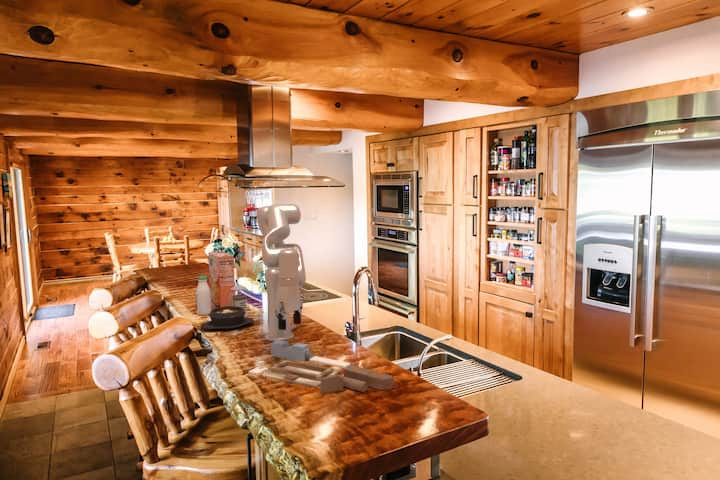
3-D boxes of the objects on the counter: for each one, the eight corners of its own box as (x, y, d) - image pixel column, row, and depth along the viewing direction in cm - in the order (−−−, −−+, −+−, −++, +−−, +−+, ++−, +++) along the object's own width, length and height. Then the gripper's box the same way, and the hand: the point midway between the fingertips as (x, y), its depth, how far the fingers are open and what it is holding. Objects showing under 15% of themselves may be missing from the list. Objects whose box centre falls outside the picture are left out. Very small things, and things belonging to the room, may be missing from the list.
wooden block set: (349, 361, 167) (394, 372, 157) (349, 377, 168) (394, 389, 158) (317, 376, 153) (365, 389, 143) (318, 393, 154) (365, 407, 144)
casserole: (206, 335, 217) (205, 317, 216) (196, 326, 233) (195, 309, 232) (259, 327, 230) (259, 309, 229) (246, 319, 246) (246, 302, 245)
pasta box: (210, 304, 279) (208, 252, 276) (224, 302, 283) (222, 251, 280) (220, 312, 259) (218, 256, 256) (235, 310, 263) (233, 255, 260)
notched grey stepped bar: (271, 356, 189) (270, 342, 189) (277, 353, 193) (276, 339, 192) (306, 362, 182) (306, 348, 182) (312, 359, 186) (312, 345, 185)
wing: (315, 359, 187) (315, 356, 187) (350, 366, 179) (350, 363, 179) (309, 362, 183) (309, 359, 183) (345, 369, 175) (345, 366, 175)
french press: (252, 313, 257) (251, 266, 255) (238, 318, 247) (237, 269, 245) (237, 311, 262) (236, 265, 259) (223, 316, 251) (221, 268, 249)
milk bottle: (214, 312, 259) (213, 275, 258) (205, 316, 252) (204, 277, 250) (202, 311, 262) (201, 274, 260) (193, 314, 255) (191, 277, 253)
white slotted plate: (259, 369, 176) (259, 359, 175) (268, 371, 174) (268, 361, 174) (248, 374, 170) (248, 364, 170) (257, 376, 169) (257, 366, 168)
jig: (289, 362, 182) (289, 356, 182) (340, 371, 172) (340, 365, 172) (262, 376, 168) (262, 370, 168) (316, 387, 158) (316, 381, 158)
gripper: (293, 278, 194) (294, 320, 195) (266, 285, 179) (268, 330, 180) (309, 279, 191) (310, 322, 192) (283, 286, 175) (284, 333, 177)
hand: (289, 326), depth 186 cm, fingers open, 9 cm apart
